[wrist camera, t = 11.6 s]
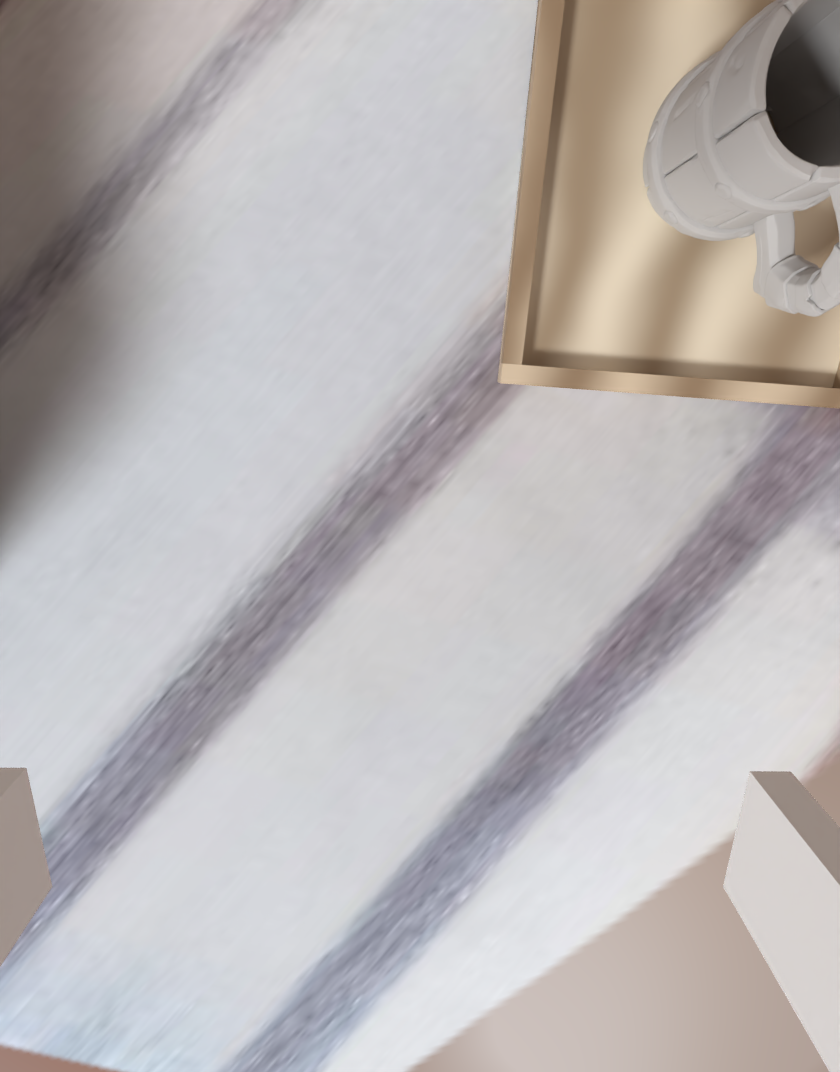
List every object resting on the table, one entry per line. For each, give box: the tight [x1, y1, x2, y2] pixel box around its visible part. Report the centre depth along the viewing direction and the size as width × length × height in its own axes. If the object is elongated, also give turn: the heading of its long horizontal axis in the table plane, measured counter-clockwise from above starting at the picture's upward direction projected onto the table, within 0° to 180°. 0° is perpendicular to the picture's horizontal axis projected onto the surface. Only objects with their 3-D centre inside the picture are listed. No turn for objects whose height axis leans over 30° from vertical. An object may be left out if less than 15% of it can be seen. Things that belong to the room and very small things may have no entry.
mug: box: [643, 0, 840, 317], centre depth 24 cm, size 8×12×12 cm, turn 25°
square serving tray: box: [498, 0, 840, 408], centre depth 30 cm, size 19×19×2 cm
